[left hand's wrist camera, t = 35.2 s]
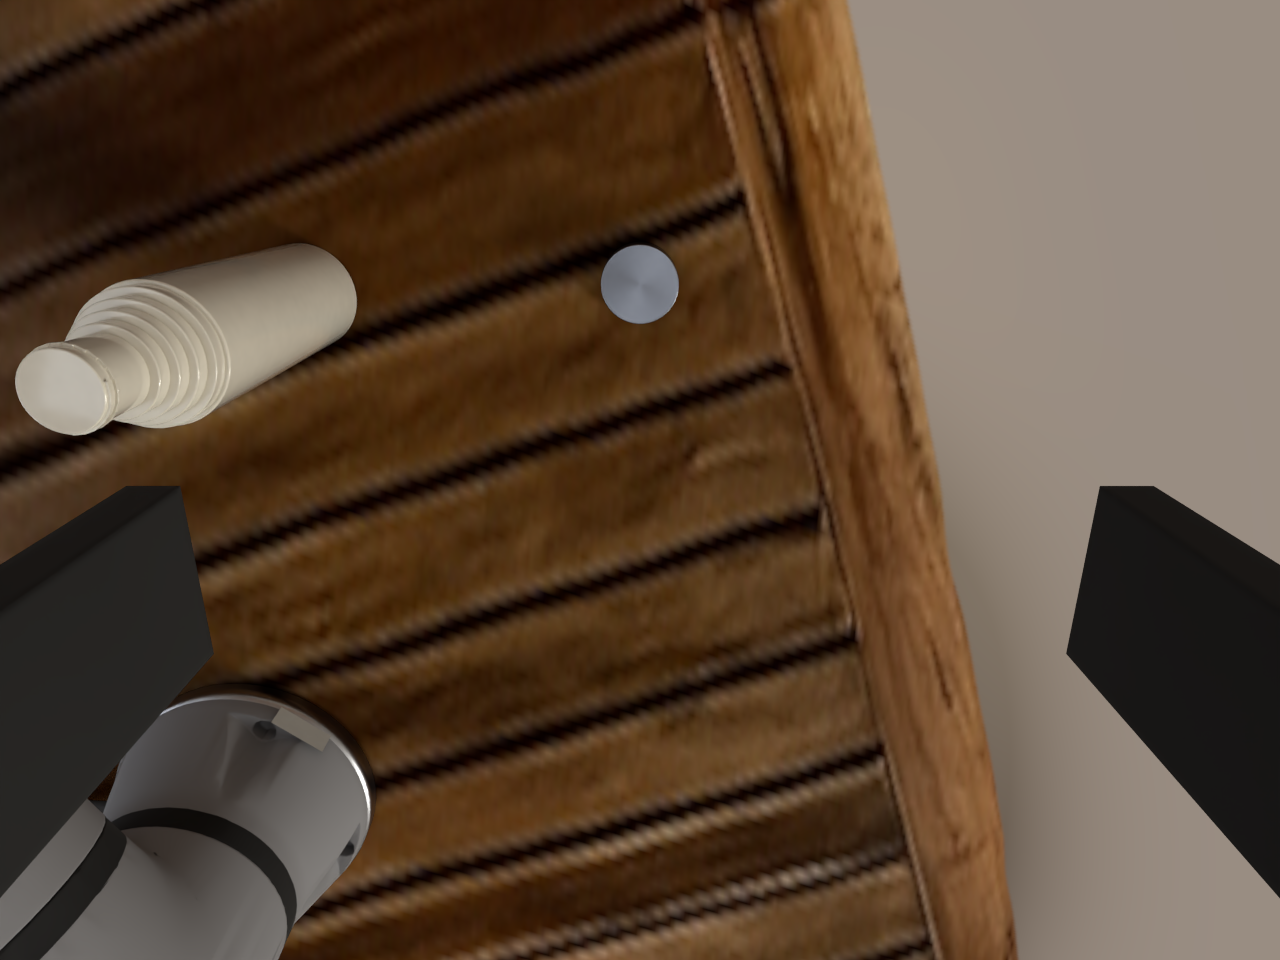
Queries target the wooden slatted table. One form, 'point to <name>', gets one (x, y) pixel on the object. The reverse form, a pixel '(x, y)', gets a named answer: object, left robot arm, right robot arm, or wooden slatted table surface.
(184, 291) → the bottle
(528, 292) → the wooden slatted table surface
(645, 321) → the cap
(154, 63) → the wooden slatted table surface
